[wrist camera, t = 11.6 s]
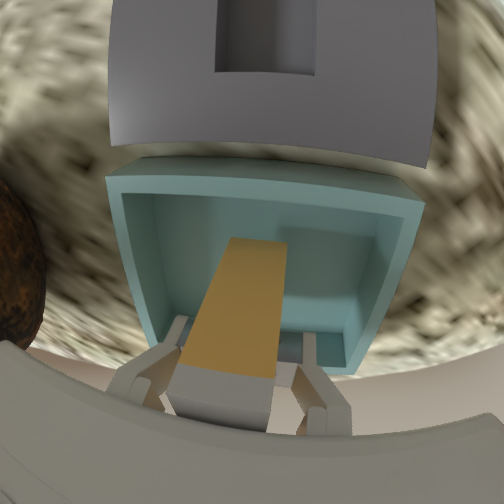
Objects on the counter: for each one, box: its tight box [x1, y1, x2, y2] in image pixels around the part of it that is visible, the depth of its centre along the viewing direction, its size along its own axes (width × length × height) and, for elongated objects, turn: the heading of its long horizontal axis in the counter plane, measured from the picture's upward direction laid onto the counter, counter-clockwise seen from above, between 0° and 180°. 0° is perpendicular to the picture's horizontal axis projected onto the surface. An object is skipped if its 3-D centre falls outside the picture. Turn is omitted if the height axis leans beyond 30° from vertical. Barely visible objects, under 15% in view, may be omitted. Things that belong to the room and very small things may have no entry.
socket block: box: [108, 0, 438, 169], centre depth 8 cm, size 12×14×2 cm
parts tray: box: [105, 156, 425, 375], centre depth 14 cm, size 12×14×4 cm
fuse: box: [166, 237, 287, 432], centre depth 10 cm, size 5×3×8 cm, turn 178°
